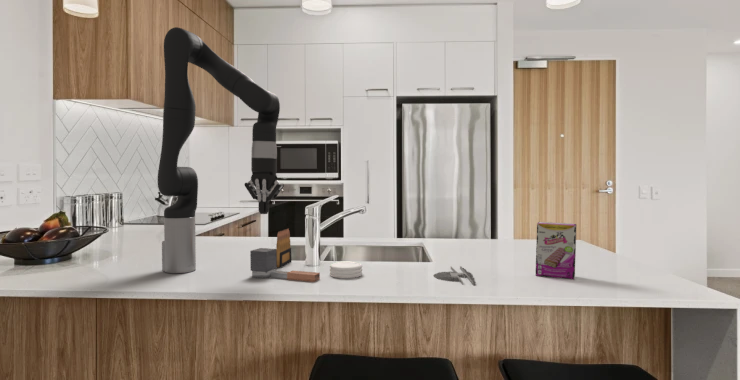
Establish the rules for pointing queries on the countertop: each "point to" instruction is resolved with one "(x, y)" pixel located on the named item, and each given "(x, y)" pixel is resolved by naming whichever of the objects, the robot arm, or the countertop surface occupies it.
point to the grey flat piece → (455, 276)
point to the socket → (263, 259)
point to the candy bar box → (556, 250)
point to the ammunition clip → (283, 249)
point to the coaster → (345, 269)
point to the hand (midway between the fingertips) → (263, 213)
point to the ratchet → (288, 275)
